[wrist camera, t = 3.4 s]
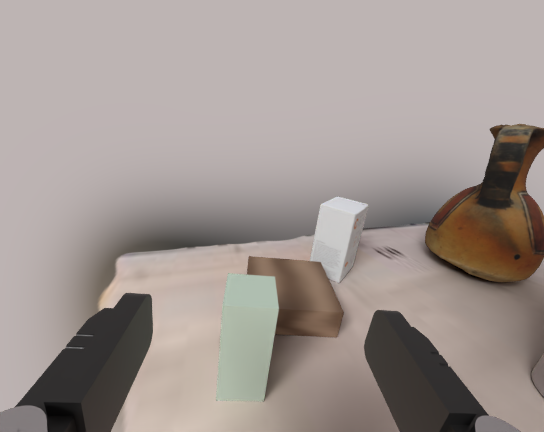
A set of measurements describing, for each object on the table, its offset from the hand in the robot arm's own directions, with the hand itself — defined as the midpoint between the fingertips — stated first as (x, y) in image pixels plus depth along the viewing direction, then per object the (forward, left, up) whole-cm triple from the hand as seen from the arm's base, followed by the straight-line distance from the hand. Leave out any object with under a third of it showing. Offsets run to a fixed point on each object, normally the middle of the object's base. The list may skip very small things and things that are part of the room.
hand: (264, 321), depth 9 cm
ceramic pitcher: (-49, -40, -19) cm, 66 cm away
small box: (-16, -35, -19) cm, 42 cm away
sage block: (0, -12, -18) cm, 22 cm away
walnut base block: (-6, -24, -18) cm, 31 cm away
